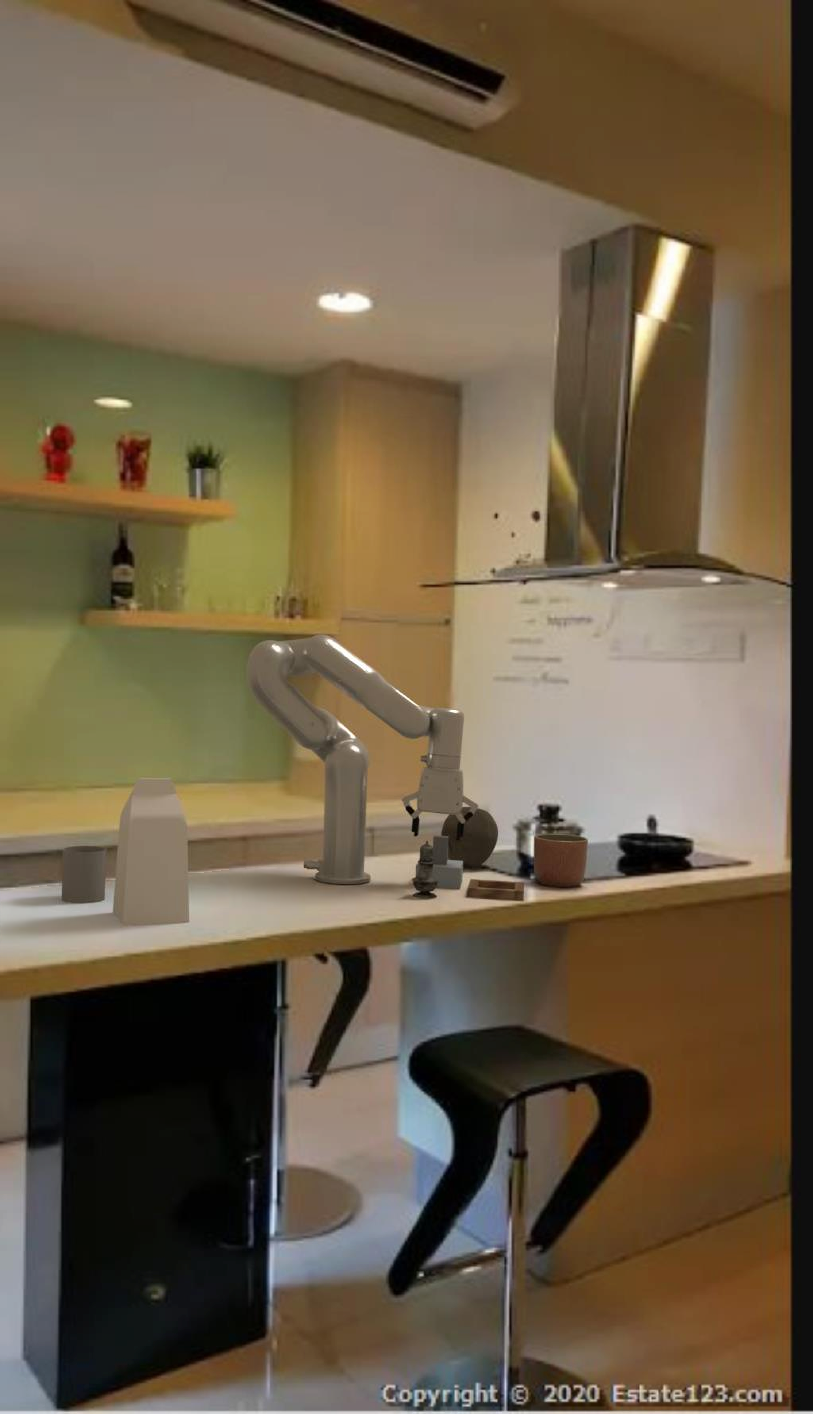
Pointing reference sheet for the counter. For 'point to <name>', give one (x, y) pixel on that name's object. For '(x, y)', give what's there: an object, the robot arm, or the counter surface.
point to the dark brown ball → (471, 838)
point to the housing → (445, 865)
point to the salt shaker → (425, 874)
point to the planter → (560, 859)
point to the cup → (83, 874)
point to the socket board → (495, 889)
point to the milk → (152, 857)
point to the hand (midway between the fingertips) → (437, 837)
